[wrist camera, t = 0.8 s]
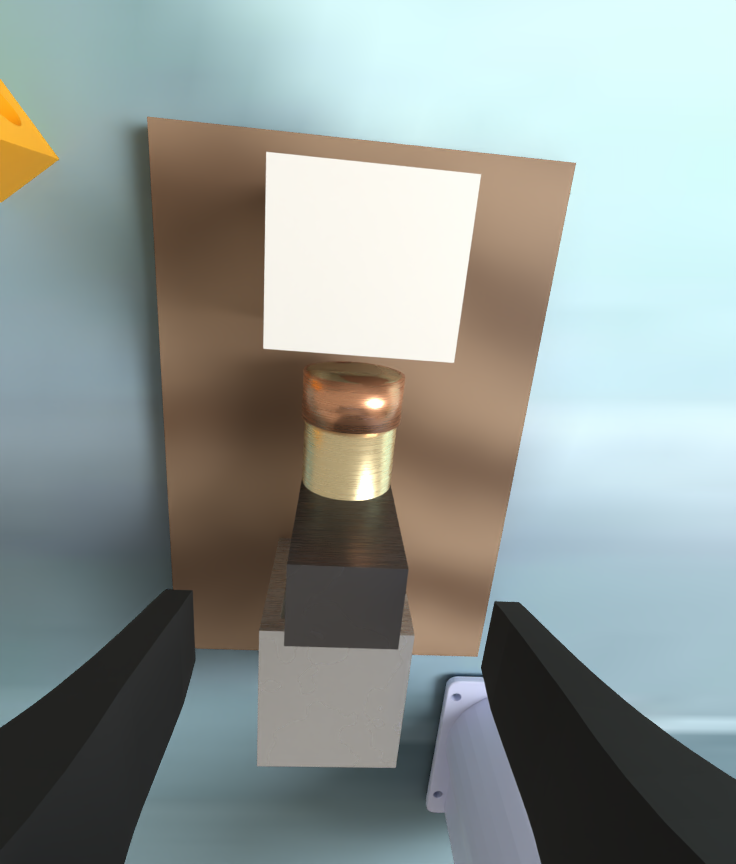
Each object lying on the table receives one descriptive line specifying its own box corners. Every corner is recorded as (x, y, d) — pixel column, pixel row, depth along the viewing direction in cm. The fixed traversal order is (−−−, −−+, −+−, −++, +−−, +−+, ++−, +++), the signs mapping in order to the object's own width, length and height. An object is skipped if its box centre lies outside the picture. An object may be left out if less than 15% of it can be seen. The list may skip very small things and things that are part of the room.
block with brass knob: (366, 668, 22) (376, 833, 16) (293, 666, 22) (273, 833, 15) (399, 365, 17) (432, 427, 11) (307, 358, 17) (287, 417, 11)
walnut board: (472, 641, 25) (477, 656, 24) (182, 631, 24) (176, 647, 23) (563, 167, 18) (575, 162, 17) (158, 124, 17) (147, 116, 16)
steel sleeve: (383, 653, 23) (395, 767, 18) (276, 650, 23) (256, 765, 18) (396, 543, 21) (414, 635, 16) (279, 537, 21) (259, 630, 16)
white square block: (422, 332, 18) (453, 363, 13) (285, 321, 18) (263, 348, 13) (438, 198, 17) (481, 174, 12) (289, 183, 16) (265, 151, 11)
